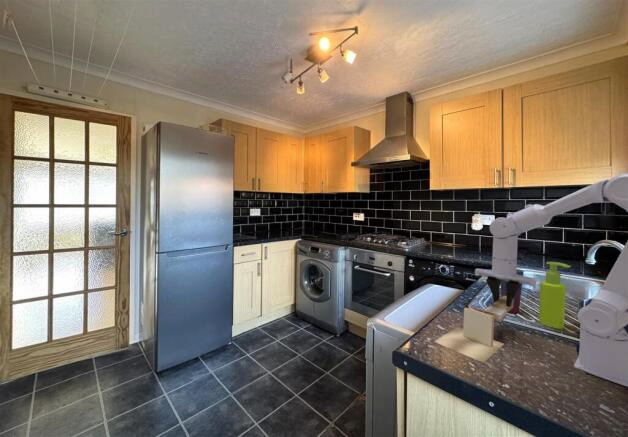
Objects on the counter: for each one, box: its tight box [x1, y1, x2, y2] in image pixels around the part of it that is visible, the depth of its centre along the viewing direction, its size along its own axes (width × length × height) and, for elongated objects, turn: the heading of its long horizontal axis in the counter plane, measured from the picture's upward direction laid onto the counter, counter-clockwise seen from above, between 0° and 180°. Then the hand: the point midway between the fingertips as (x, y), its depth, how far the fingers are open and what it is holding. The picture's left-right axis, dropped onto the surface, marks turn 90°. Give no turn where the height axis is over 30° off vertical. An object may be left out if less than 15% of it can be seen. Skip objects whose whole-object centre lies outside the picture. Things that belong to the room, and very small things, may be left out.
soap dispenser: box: [538, 261, 572, 330], centre depth 80 cm, size 6×7×20 cm
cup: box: [500, 268, 525, 315], centre depth 92 cm, size 7×7×15 cm
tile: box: [462, 307, 495, 347], centre depth 70 cm, size 7×1×8 cm, turn 37°
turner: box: [482, 296, 514, 323], centre depth 74 cm, size 4×14×3 cm, turn 127°
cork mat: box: [433, 326, 505, 364], centre depth 69 cm, size 12×14×1 cm
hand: (502, 304), depth 75 cm, fingers closed on turner, 2 cm apart
